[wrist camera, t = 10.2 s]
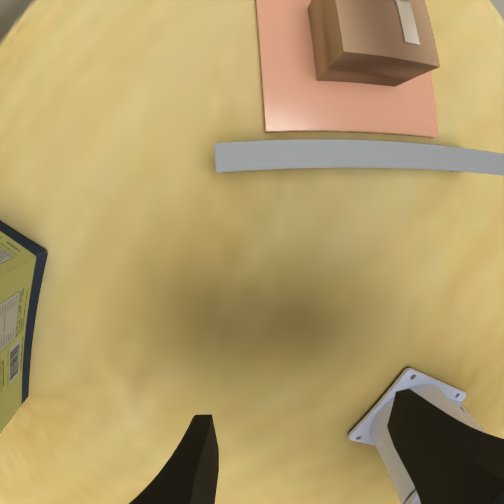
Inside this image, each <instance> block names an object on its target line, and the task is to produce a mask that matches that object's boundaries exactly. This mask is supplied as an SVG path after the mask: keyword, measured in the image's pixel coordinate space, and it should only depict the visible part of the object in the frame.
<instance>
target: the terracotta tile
mask: <svg viewBox="0 0 504 504" xmlns="http://www.w3.org/2000/svg"><path fill="white" fill-rule="evenodd" d="M310 2H311V0H256V10H257V23H258V35H259V48H260V62H261V75H262V90H263V105H264V120H265V132H362V133H381V134H396V135H409V136H420V137H430V138H437V137H438V127H437V116H436V106H435V97H434V89H433V82H432V75H431V71H429V72H427V73H424V74H422V75H420V76H418V77H415V78H413V79H411V80H409V81H407V82H404V83H402V84H400V85H398V86H396V87H393V86H384V85H375V84H364V83H352V82H335V81H317V80H316V70H315V61H314V53H313V44H312V37H311V29H310V22H309V15H308V6H309V4H310Z"/></svg>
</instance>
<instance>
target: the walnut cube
mask: <svg viewBox="0 0 504 504" xmlns="http://www.w3.org/2000/svg"><path fill="white" fill-rule="evenodd" d="M308 15H309V22H310V29H311V37H312V44H313V53H314V61H315V70H316V80H317V81H335V82H352V83H364V84H375V85H384V86H393V87H396V86H398V85H400V84H402V83H404V82H407V81H409V80H411V79H413V78H415V77H418V76H420V75H422V74H424V73H427V72H429V71H431V70H433V69H436V68H438V67H440V65H439V59H438V54H437V49H436V44H435V40H434V35H433V31H432V27H431V22H430V19H429V15H428V11H427V7H426V4H425V0H311V2H310V4H309V6H308Z"/></svg>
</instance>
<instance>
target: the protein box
mask: <svg viewBox="0 0 504 504" xmlns="http://www.w3.org/2000/svg"><path fill="white" fill-rule="evenodd" d="M46 258H47V251H46V250H45V249H44V248H42V247H40V246H39V245H37V244H36V243H34V242H32V241H30V240H29V239H27V238H25V237H24V236H22V235H21V234H19V233H18V232H16V231H14V230H13V229H11V228H10V227H8V226H7V225H5V224H3V223H2V222H0V433H1V431H2V430H3V429H4V427H5V426H6V425H7V424H8V422H9V421H10V420H11V418H12V417H13V415H14V414H15V413H16V411H17V410H18V409H19V407H20V406H21V405H22V403H23V402H24V401H25V399H26V398H27V397H28V381H29V366H30V355H31V345H32V337H33V329H34V322H35V315H36V308H37V302H38V297H39V291H40V286H41V281H42V276H43V271H44V267H45V262H46Z"/></svg>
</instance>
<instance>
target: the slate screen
mask: <svg viewBox="0 0 504 504" xmlns="http://www.w3.org/2000/svg"><path fill="white" fill-rule="evenodd" d="M214 151H215V166H216V173H219V172H233V171H249V170H268V169H292V168H406V169H429V170H446V171H461V172H474V173H485V174H495V175H504V154H500V153H494V152H488V151H481V150H474V149H467V148H459V147H450V146H441V145H431V144H420V143H408V142H393V141H374V140H342V139H297V140H264V141H244V142H229V143H216V144H214Z"/></svg>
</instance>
